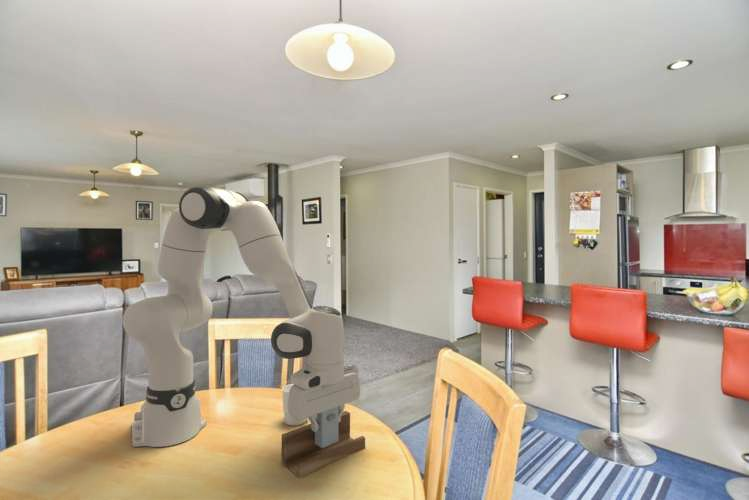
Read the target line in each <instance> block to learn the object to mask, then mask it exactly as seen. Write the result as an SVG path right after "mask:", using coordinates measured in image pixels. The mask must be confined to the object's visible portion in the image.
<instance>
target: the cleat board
mask: <svg viewBox="0 0 749 500" xmlns="http://www.w3.org/2000/svg"><path fill="white" fill-rule="evenodd" d="M364 448H366V436H364V435H361V436H359V437H356V438H353V437H351V412H349V411H347V410H343V413H342V415H341V422H339V423H338V442H336V443H334V444H331V445H329V446H327V447H324V448H321V447H319V446H318V445H316V444H315V432H314V431H312V428H311V423H309V424H308V423H307V424H306V425H304V426H300V427H297V428H296V429H293V430H290V431H287V432H284V433H281V464H282V465H283V466H284V467H286V468H287V469H288V470H289V471H291V472H292V473H293V474H295V475H296V476H297V477H298V478H299V479H301V478H303V477H305V476H307V475H310V474H311V473H313V472H315V471H318V470H319V469H322V468H324V467H326V466H329V465H330V464H332V463H335V462H337V461H338V460H340V459H342V458H345V457H347V456H349V455H351V454H353V453H355V452H358V451H360V450H362V449H364Z"/></svg>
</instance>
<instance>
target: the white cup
mask: <svg viewBox="0 0 749 500" xmlns="http://www.w3.org/2000/svg"><path fill="white" fill-rule="evenodd" d="M293 385H294V384H293V383H289V384H286V385H284V386H283V387H282V389H281V390H282V405H283V406H282V408H283V417H284V418H283V419H284V423H285V424H286V425H287V426H299V425H304V424H305V423H306V422H307V421H308V418H305V419H302V420H299V421H297V420H295V419H293V418H292V417H291V416H290V415H289V413H288V399H289V391H290V389H291V387H292V386H293Z"/></svg>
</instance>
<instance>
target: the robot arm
mask: <svg viewBox="0 0 749 500" xmlns="http://www.w3.org/2000/svg"><path fill="white" fill-rule="evenodd" d="M214 231H222V232H223V231H230V232H231V233H232V234H233V236H234V238H235V241H236V244H237V247H238V250H239V252H240V253H239V254H240V256H241V259H242V261H243V263H244V265H245V266H246V268H247V269H248V271H249V272H250V273H251V274H253V275H254V276H257V277H259V278H261V279H263V280H266V281H268V282H270V284H272V285H273V286H275V288H277V290H278V292H279V294H280V296H281V298H282V301H283V303H284V306H285V307H286V310H287V312H288V315H289V318H288V319H286V320H284V321H283V322H279V324H278V325H276V326H274V329H272V332H271V335H270V343H271V347H272V349H273V351H274V353H275V354H276V355H277V356H279V357H281V358H282V359H286V360H289V359H290V360H291V359H294V360H295V359H301V358H305V357H307V358H308V363H307V364H306V365H305V366H303V367H302V368H300V369H299V370H297V371H296V372H294V373H293V374H291V376H290V382H291V383H290V384H294V385H293V386H292V387H291V389H290V391H289V399H288V413H289V415H290V416H291V417H292V418H293V419H295V420H297V421H299V420H302V419H305V418H307V420H308V421H309V422H310V424H311V428H312V431H314V432H316V431H319V430H320V423H318V422H317V421H316V420H315V419H316V418H317V414H319V413H322V412H324V411H327V410H330V409H332V408H335V407H338V423H339V422H341V415H342V413H343V411H345V409H346V407H345V405H346V404H349V403H352V402H355V401H357V400H359V398H360V396H361V385H360V384H361V383H360V379H359V368H358V366H357V365H354V364H349V365H345V355H344V354H343V350H344V349H343V347H344V345H345V331H344V330H345V329H344V319H343V316H342V314H341V312H340V311H339V310H338V309H336V308H334V307H332V306H331V307H330V306H326V305H323V306H322V305H317V306H313V307H312V305H311V303H310V300H309V299H308V296H307V294H306V292H305V289H304V287H303V284H302V283H301V281H300V278H299V276H298V274H297V271H296V270H295V268H294V265H293V263H292V261H291V259H290V256H289V254H288V252H287V250H286V246H285V244H284V243H285V242H284V241H283V237H282V236H281V235H282V234H281V232H280V230H279V227H278V225H277V222H276V221H275V218H274V217H273V214H272V213H271V210H269V208H268V206H267V205H266V204H265V203H263V202H261V201H259V200H250V198H248V197H247V196H246V195H244V194H242V193H240V192H237V191H233V190H230V189H226V188H220V187H219V188H216V187H209V186H195V187H191V188H188V189H187V190H186V191H184V193H183V194H182V195H181V197H180V199H179V203H178V208H175V209H174V210H173V211H172V213H171V215H170V217H169V218H168V222H167V225H166V226H165V229H164V234H163V238H162V243H161V247H160V252H159V257H158V264H157V273H158V275H159V276H160V277H161V278H162V279H163V280H164V281H166V282H167V286H168V290H167V294H166V295H160V296H153V297H147V298H145V299H141V300H139V301H136V302H133V303H132V304H130V305H129V306H127V308H126V310H125V312H124V314H123V315H122V326H123V330H124V332H125V333H126V335H128V336H129V338H131V339H133V340H135V341H136V342H137V343H139V345H140V346H141V347H142V349H143V351H144V353H145V356H146V360H147V368H148V371H147V372H148V386H147V388H146V391H145V401H144V402H143V403H142V405H140V411H136V412H134V413H133V414H134V417H133V419H134V421H132V423H131V446H132V447H134V448H135V447H152V448H162V447H163V448H164V447H168V446H169V447H171V446H173V445H177V444H178V445H179V444H181V443H184V442H186V441H189V440H191V439H193V438H194V437H196V435H198V434H199V432H200V431H201V429H203V428H204V427H206V426H207V420H206V419H204V418H202V407H201V399H200V397H198V396H197V395H196V381H195V379H194V354H193V352H192V351H191V350H190V349H188V347H187V348H186V347H184V346H183V345H182V344H181V340H180V333H184V332H187V331H191V330H194V329H196V328H199V327H200V326H202V325H203V324H205V323H207V322H209V320H210V319H211V317H212V315H213V310H214V309H213V303H212V301H211V299H210V298H209V296H207V294H206V293H205V291H204V285H203V271H204V270H203V269H204V265H205V264H204V263H205V259H206V254H207V253H206V252H207V247H208V242H209V238H210V236H211V234H212V233H213V232H214Z"/></svg>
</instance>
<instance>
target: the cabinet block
mask: <svg viewBox="0 0 749 500" xmlns="http://www.w3.org/2000/svg"><path fill="white" fill-rule="evenodd" d="M315 420H316V421H317V422H318V423H320V430H319V431H316V432H315V444H316V445H318V446H319V447H321V448H324V447H327V446H329V445H331V444H334V443H336V442H338V407H335V408H332V409H330V410H327V411H324V412H322V413H319V414H317V418H316V419H315Z"/></svg>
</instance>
